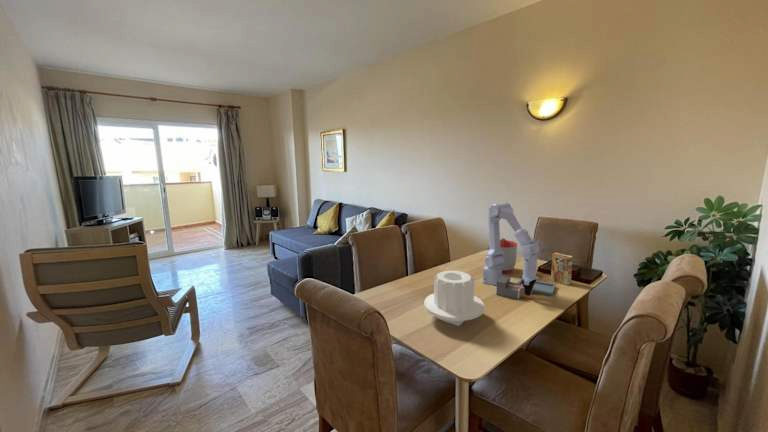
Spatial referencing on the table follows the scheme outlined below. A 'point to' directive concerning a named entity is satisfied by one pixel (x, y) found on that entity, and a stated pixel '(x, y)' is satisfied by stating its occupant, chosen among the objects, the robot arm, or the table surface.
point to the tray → (542, 287)
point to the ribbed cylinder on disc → (454, 298)
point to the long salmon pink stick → (522, 291)
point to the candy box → (561, 268)
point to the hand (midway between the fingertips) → (528, 293)
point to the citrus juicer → (508, 254)
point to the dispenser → (508, 288)
